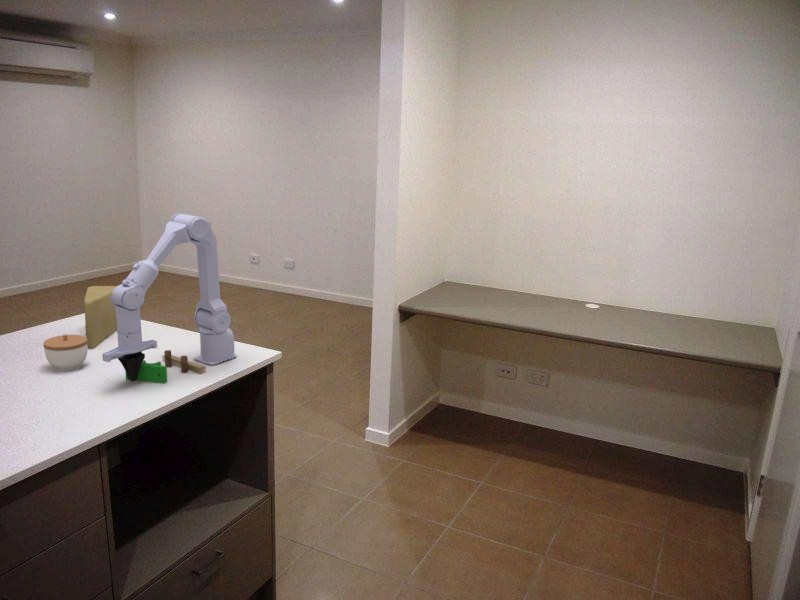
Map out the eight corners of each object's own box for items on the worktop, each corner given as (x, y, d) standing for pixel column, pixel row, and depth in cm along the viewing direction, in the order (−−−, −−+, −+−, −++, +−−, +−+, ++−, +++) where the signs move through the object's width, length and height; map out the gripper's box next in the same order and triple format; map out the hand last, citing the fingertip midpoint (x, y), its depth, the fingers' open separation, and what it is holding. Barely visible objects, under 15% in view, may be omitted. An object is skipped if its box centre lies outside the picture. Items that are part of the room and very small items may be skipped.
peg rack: (168, 359, 178) (167, 344, 177) (205, 372, 170) (204, 356, 169) (155, 363, 175) (154, 348, 174) (192, 376, 167) (192, 361, 165)
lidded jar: (71, 375, 163) (68, 342, 161) (36, 371, 165) (33, 338, 163) (98, 362, 173) (95, 331, 171) (65, 358, 175) (62, 327, 173)
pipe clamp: (172, 378, 165) (171, 362, 164) (165, 383, 161) (164, 367, 160) (133, 374, 166) (132, 358, 165) (125, 379, 162) (124, 363, 161)
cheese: (108, 349, 185) (104, 301, 181) (73, 350, 182) (68, 302, 179) (122, 327, 205) (119, 284, 202) (91, 328, 203) (87, 284, 199)
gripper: (144, 321, 164) (147, 368, 168) (93, 334, 152) (97, 384, 156) (161, 326, 161) (163, 374, 164) (110, 340, 149) (114, 391, 152)
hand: (132, 379), depth 160 cm, fingers closed
